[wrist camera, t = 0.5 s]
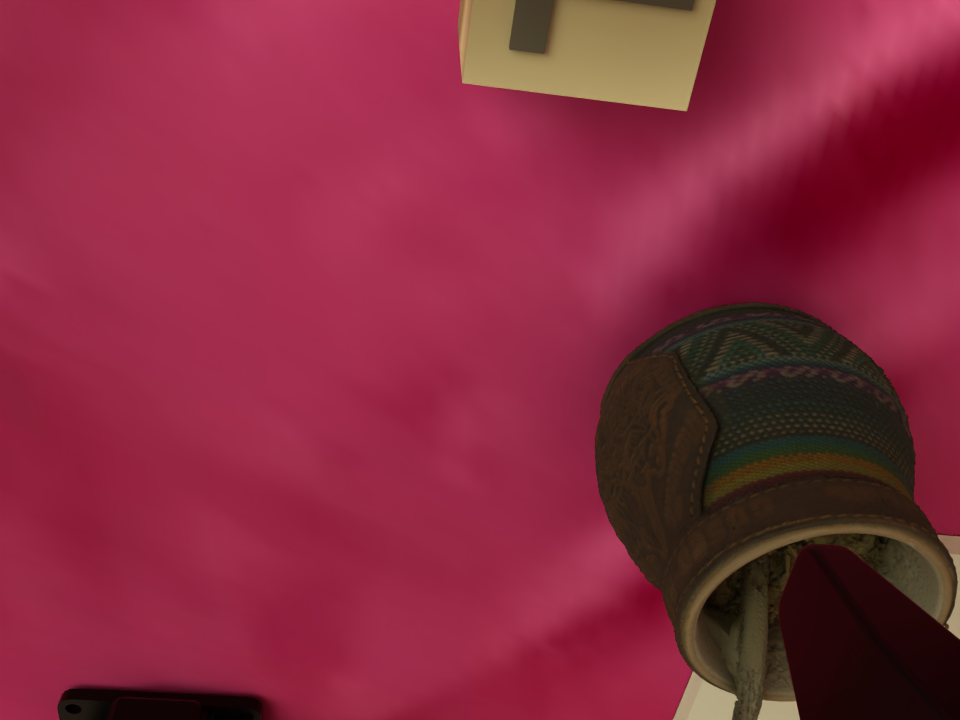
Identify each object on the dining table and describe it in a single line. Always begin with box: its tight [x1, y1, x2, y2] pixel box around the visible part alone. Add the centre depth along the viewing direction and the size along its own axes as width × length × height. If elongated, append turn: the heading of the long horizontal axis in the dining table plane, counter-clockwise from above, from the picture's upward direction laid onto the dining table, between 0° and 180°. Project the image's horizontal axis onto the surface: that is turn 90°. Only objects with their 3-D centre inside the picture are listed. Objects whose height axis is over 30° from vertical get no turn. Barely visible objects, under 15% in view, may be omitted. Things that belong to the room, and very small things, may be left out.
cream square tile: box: [673, 535, 960, 720], centre depth 31 cm, size 11×11×1 cm
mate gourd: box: [595, 302, 958, 720], centre depth 20 cm, size 7×8×10 cm
